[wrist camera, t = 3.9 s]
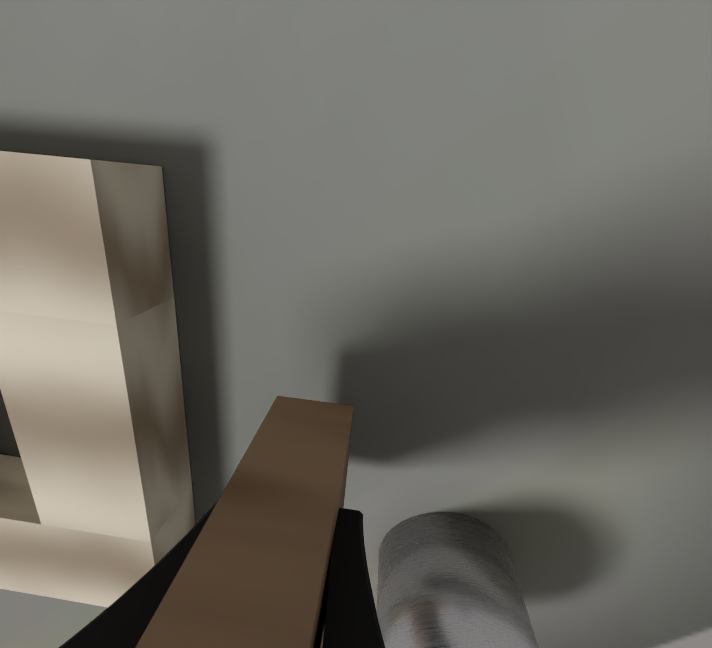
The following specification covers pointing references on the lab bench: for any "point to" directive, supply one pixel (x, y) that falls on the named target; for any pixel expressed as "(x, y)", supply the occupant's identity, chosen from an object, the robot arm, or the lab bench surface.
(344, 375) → the lab bench surface
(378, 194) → the lab bench surface
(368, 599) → the robot arm
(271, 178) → the lab bench surface
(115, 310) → the slot plate
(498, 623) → the cylinder
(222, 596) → the walnut bar
